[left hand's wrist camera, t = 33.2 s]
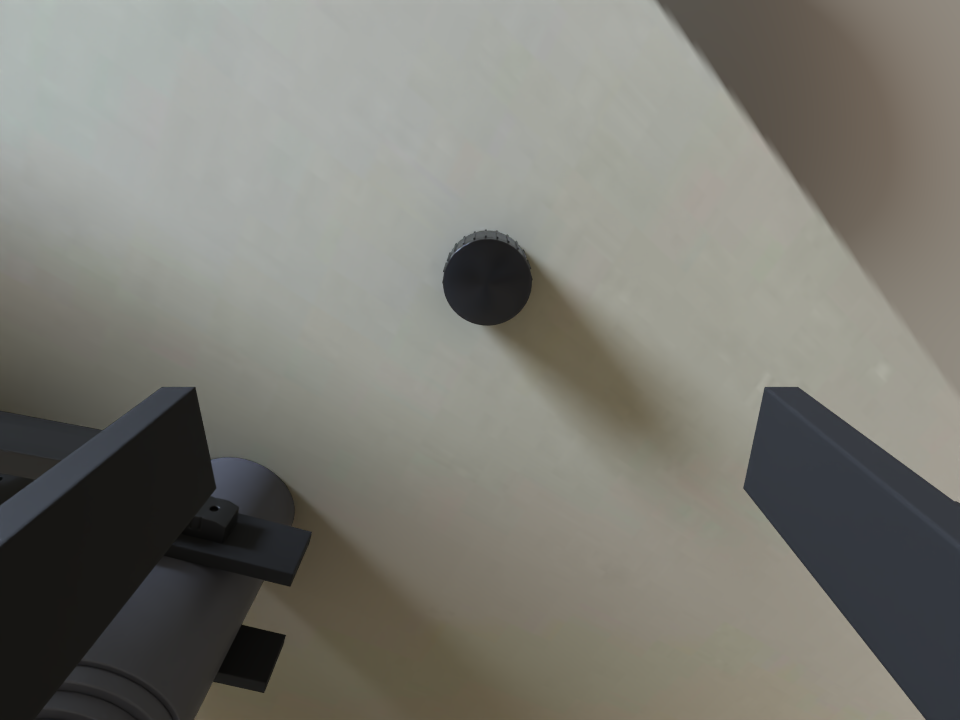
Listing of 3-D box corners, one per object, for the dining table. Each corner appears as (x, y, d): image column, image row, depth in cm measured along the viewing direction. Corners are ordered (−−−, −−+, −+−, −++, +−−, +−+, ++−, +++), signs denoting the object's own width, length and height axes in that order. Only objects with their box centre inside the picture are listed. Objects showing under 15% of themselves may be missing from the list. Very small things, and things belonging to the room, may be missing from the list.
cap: (481, 327, 27) (481, 343, 25) (428, 266, 26) (423, 277, 24) (546, 277, 26) (551, 289, 24) (493, 211, 25) (493, 217, 23)
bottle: (160, 475, 30) (-245, 897, 14) (261, 443, 30) (-41, 851, 13) (219, 559, 33) (-65, 1007, 16) (313, 531, 32) (119, 975, 15)
